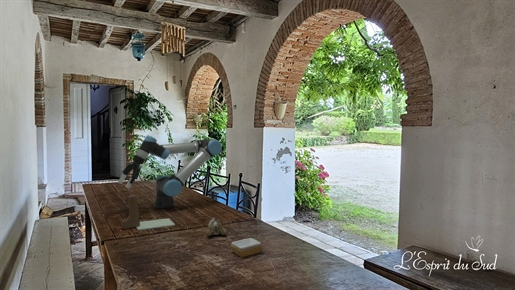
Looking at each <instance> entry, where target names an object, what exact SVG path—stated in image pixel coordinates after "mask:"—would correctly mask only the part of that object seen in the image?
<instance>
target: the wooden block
mask: <svg viewBox="0 0 515 290" xmlns="http://www.w3.org/2000/svg"><path fill="white" fill-rule="evenodd" d="M127 202H128V211H129V215H128V216H127V218H124V219H122V220H121V223H122V224H121V225H122V229H124V230H127V229H132V228H136V227H137V226H140V222H141V220H140V214H139V203H138V195H136V194H130V195H128V196H127Z"/></svg>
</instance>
